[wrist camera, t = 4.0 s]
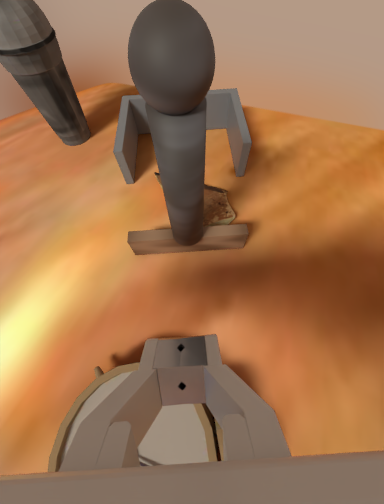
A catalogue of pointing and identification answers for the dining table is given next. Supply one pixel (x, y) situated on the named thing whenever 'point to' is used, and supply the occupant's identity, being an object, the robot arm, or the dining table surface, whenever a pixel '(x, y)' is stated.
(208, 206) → the shard
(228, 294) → the dining table surface
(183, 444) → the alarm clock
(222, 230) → the ball-topped joystick
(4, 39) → the beverage cup
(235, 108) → the box
